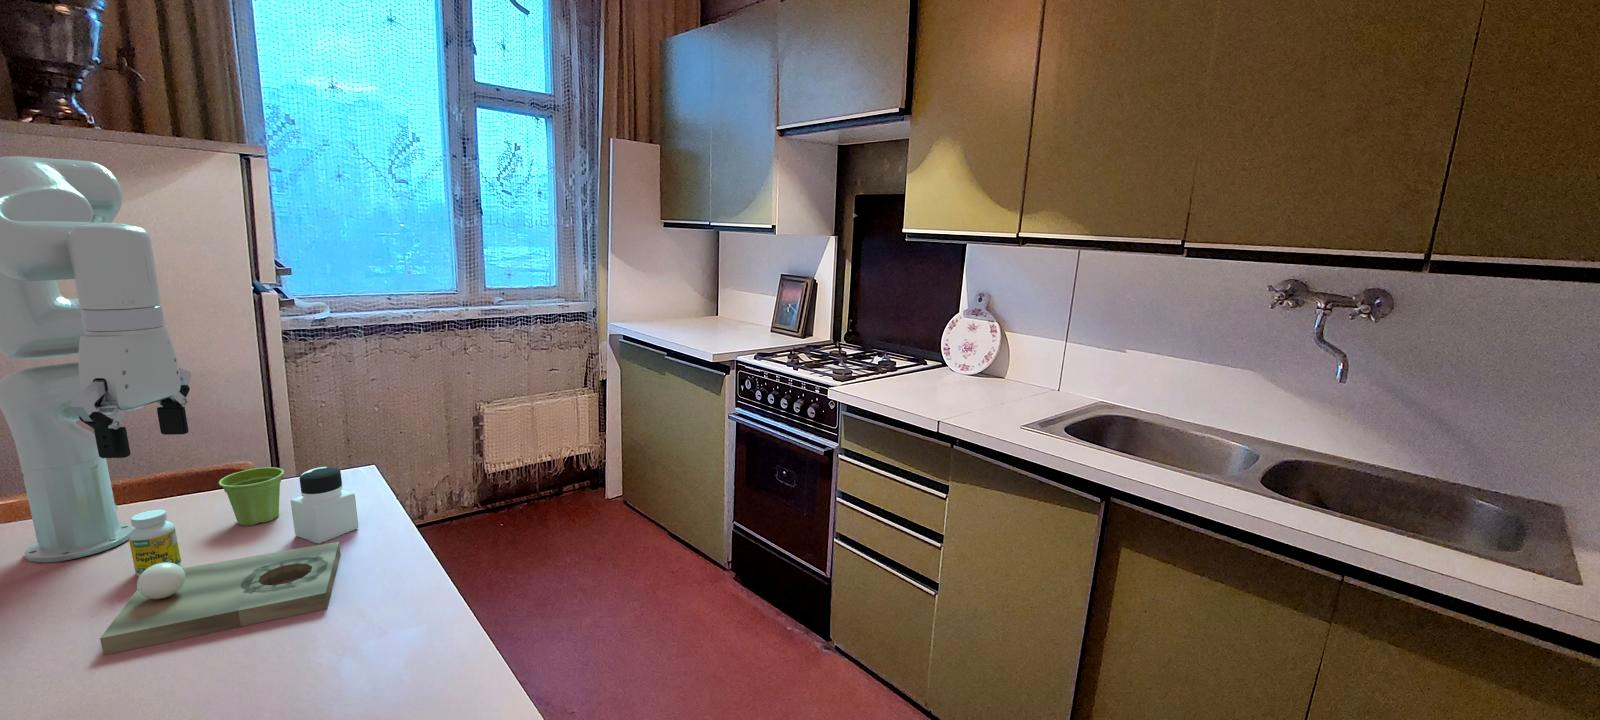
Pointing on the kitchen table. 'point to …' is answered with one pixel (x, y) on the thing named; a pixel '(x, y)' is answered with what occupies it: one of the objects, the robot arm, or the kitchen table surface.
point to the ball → (161, 580)
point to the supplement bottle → (153, 540)
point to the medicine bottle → (323, 506)
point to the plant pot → (254, 494)
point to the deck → (228, 597)
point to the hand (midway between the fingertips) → (146, 444)
